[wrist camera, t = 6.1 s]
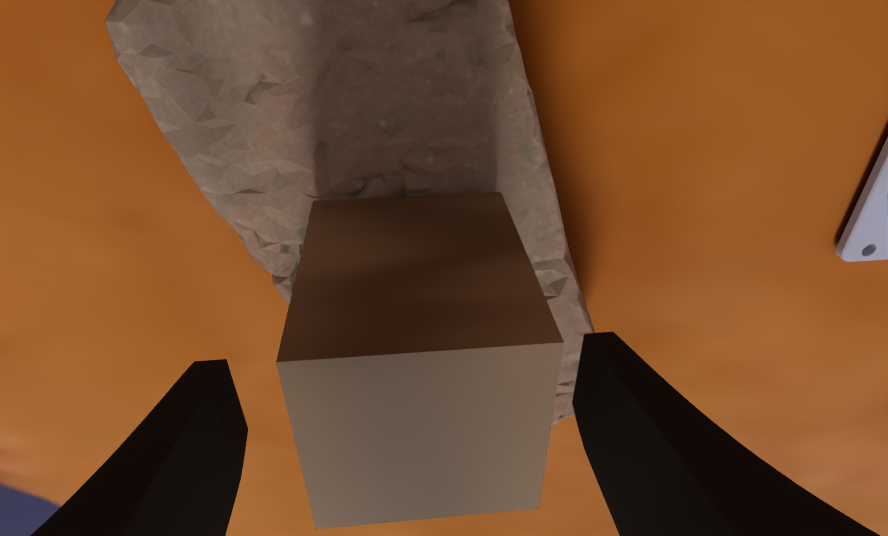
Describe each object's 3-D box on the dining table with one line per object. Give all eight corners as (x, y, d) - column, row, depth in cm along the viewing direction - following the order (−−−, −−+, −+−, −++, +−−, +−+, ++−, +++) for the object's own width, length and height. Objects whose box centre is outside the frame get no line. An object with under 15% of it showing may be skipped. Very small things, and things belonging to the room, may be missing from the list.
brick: (140, -19, 14) (48, 13, 10) (444, -157, 13) (471, -179, 9) (393, 389, 23) (395, 488, 19) (582, 326, 22) (625, 416, 18)
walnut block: (500, 191, 13) (564, 342, 9) (492, 333, 16) (538, 508, 11) (313, 200, 13) (275, 362, 8) (335, 344, 15) (316, 529, 11)
